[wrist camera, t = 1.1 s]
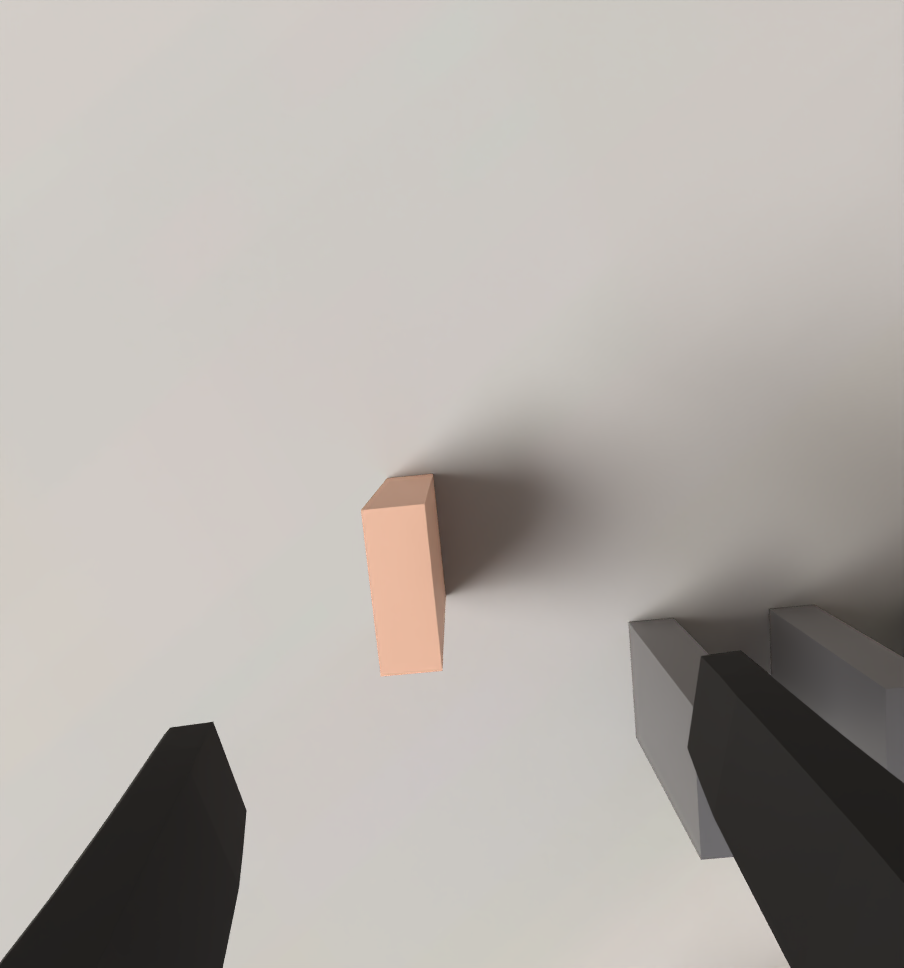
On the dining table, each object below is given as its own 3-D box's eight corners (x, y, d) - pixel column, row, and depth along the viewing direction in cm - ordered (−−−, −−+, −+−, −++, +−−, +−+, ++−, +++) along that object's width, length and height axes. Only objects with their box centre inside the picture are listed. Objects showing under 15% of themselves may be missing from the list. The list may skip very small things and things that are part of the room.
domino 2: (673, 617, 23) (754, 700, 17) (679, 733, 24) (760, 854, 18) (628, 622, 23) (692, 705, 17) (636, 737, 24) (700, 859, 18)
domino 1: (432, 473, 23) (424, 503, 16) (445, 595, 23) (442, 670, 17) (387, 478, 23) (361, 510, 16) (400, 600, 23) (381, 676, 17)
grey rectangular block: (814, 604, 23) (947, 683, 17) (817, 720, 24) (947, 838, 18) (768, 609, 23) (885, 689, 17) (773, 724, 24) (887, 843, 18)
